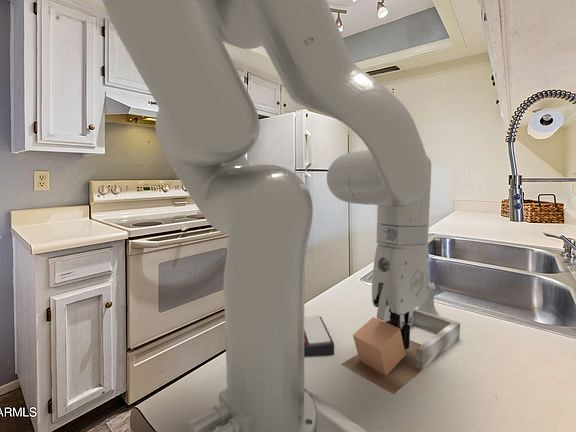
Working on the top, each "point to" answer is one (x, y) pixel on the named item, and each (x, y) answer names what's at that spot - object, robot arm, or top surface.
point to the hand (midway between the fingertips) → (397, 346)
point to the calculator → (316, 337)
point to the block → (379, 345)
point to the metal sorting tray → (412, 352)
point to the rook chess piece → (429, 301)
